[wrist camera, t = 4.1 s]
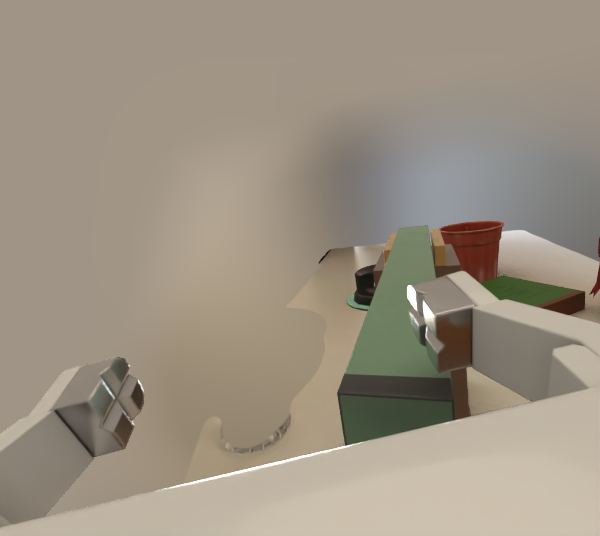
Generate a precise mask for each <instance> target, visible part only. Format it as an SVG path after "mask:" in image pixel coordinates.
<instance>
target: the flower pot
mask: <svg viewBox="0 0 600 536" xmlns="http://www.w3.org/2000/svg"><path fill="white" fill-rule="evenodd" d="M503 226H504V223H503V222H499V221H477V222H466V223H458V224H453V225H448V226H444V227H441V228H439V229H440V232H441V235H442V238H443V241H444V244H452V247H453V249H454V251H455V254H456V256H457V258H458V260H459V263H460V265H461V271H465V272H467V273H468V274H469V275H470V276H471V277H473V278H474V279H475V280H476V281H477V282H479V283H481V282H484V281H487V280H491V279H494V278H497V268H498V253H499V240H500V239H501V231H502V227H503Z"/></svg>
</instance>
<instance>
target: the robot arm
mask: <svg viewBox="0 0 600 536" xmlns="http://www.w3.org/2000/svg"><path fill="white" fill-rule="evenodd" d="M407 295H408V300H409V301H410V302H411V304H412V305H413V307H412V308H411V310H410V312H409V314H410V321H411V325H412V328H413V332H414V334H415V336H416V338H417V340H418V341H419V343H420V344H421V345H423V346H425V347H427V356H428V357H429V359H430V361H431V362H432V364H433V365H434V367H435V368H436V370H437V371H438V373H444V372H449V371H453V370H458V369H463V368H467V367H472V368H473V369H475V370H477V371H479V372H480V373H482V374H484V375H486V376H487V377H489V378H491V379H493V380H494V381H496V382H498V383H500V384H502V385H503V386H505V387H507V388H509V389H510V390H512V391H514V392H516V393H517V394H519V395H521V396H523V397H524V398H526V399H528V400H530V401H532V402H529V403H525V404H521V405H516V406H512V407H508V408H504V409H499V410H495V411H491V412H487V413H483V414H478V415H474V416H470V417H466V418H462V419H457V420H453V421H449V422H445V423H441V424H436V425H432V426H428V427H424V428H420V429H415V430H411V431H407V432H403V433H398V434H394V435H390V436H385V437H381V438H377V439H373V440H368V441H364V442H360V443H356V444H351V445H347V446H343V447H338V448H334V449H330V450H326V451H321V452H317V453H313V454H309V455H304V456H300V457H296V458H291V459H287V460H283V461H279V462H275V463H270V464H266V465H262V466H258V467H253V468H249V469H245V470H241V471H237V472H232V473H228V474H224V475H220V476H215V477H211V478H207V479H203V480H198V481H194V482H190V483H186V484H182V485H178V486H173V487H169V488H165V489H160V490H156V491H152V492H148V493H144V494H140V495H135V496H131V497H127V498H122V499H118V500H114V501H110V502H105V503H101V504H97V505H93V506H88V507H84V508H80V509H76V510H72V511H68V512H63V513H59V514H55V515H51V516H46V517H45V515H46V514H47V513H48V512H49V511H50V510H51V508H52V507H53V506H54V505H55V504H56V503H57V501H58V500H59V499H60V498H61V497H62V496H63V494H64V493H65V492H66V491H67V490H68V489H69V487H70V486H71V485H72V484H73V483H74V482H75V480H76V479H77V478H78V477H79V476H80V475H81V473H82V472H83V471H84V470H85V469H86V468H87V467H88V465H89V464H90V463H91V462H92V460H93V459H94V458H93V457H97V456H101V455H104V454H108V453H112V452H115V451H119V450H123V449H125V448H126V445H127V443H128V441H129V438H130V436H131V433H132V431H133V429H134V425H133V423H132V420H133V419H134V418H135V417H136V416H137V415H138V414H139V413H140V412H141V409H142V407H143V404H144V391H143V388H142V385H141V383H140V382H139V380H138V379H137V378H135V377H133V376H131V375H129V372H130V368H131V367H130V366H129V364H128V363H127V361H126V360H125V359H124V358H120V357H117V358H113V359H108V360H104V361H99V362H96V363H91V364H86V365H82V366H78V367H74V368H70V369H68V370H65V371H63V372H62V373H61V375H60V376H59V377H58V378H57V380H56V381H55V382H54V384H53V385H52V386H51V387H50V389H49V390H48V391H47V393H46V394H45V395H44V397H43V398H42V399H41V400H40V402H39V403H38V404H37V405H36V407H35V408H34V409H33V411H32V412H31V413H30V415H29V416H28V417H24V418H21V419H20V420H19V421H17V422H16V423H15V424H13V425H12V426H11V427H9V428H8V429H6V430H5V431H4V432H2V433H1V434H0V536H600V323H596V322H592V321H589V320H585V319H581V318H577V317H573V316H569V315H565V314H562V313H558V312H554V311H550V310H546V309H542V308H538V307H535V306H531V305H527V304H523V303H519V302H515V301H511V300H508V299H505V300H501V301H500V300H499V299H498V298H497V297H495V296H494V295H493V294H492V293H491V292H489V291H488V290H487V289H486V288H485V287H483V286H482V285H481V284H480V283H479V282H477V281H476V280H475V279H474V278H473V277H471V276H470V275H469V274H468V273H467V272H465V271H459V272H455V273H452V274H448V275H445V276H442V277H439V278H435V279H431V280H427V281H424V282H420V283H416V284H413V285H409V286H408V288H407Z"/></svg>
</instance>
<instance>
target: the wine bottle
mask: <svg viewBox="0 0 600 536" xmlns="http://www.w3.org/2000/svg"><path fill="white" fill-rule="evenodd" d="M598 254H599V257H600V238H599V247H598ZM599 289H600V265H599V271H598V276H597V282H596V284H595V286H594V288H593V289H592V291H591V293H590V294H592V293H594V295H593V297H594V296H595V294H596V293H597V292H598V290H599ZM590 294H589V295H590Z"/></svg>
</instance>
